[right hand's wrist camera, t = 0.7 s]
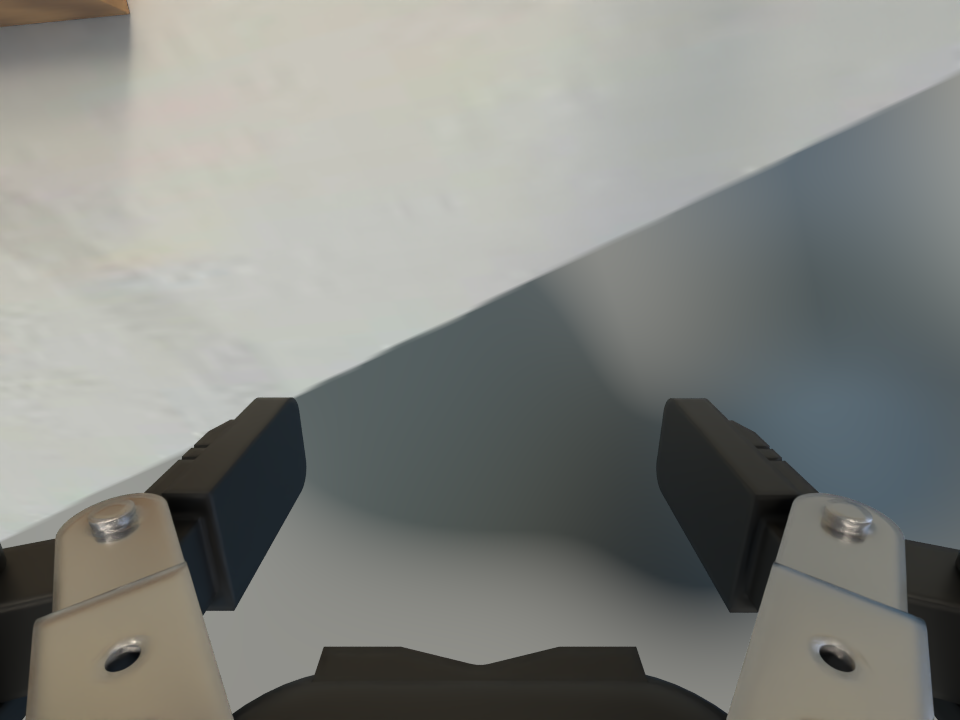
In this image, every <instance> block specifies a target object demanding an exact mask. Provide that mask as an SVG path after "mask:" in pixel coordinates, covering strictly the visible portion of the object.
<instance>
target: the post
mask: <svg viewBox="0 0 960 720" xmlns="http://www.w3.org/2000/svg"><path fill="white" fill-rule="evenodd" d="M124 14H130V12H129V9H128V5H127V1H126V0H0V27H3V26H13V25H23V24H33V23H43V22H53V21H64V20H74V19H84V18H94V17H104V16H114V15H124Z"/></svg>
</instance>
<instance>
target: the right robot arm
mask: <svg viewBox="0 0 960 720" xmlns="http://www.w3.org/2000/svg"><path fill="white" fill-rule="evenodd" d="M656 471H657V480H658V484H659V488H660V490H661V492H662V494H663V496H664V498H665V499H666V501H667V503H668V505H669V506H670V508H671V510H672V512H673V513H674V515H675V517H676V519H677V520H678V522H679V524H680V526H681V527H682V529H683V531H684V533H685V535H686V536H687V538H688V540H689V541H690V543H691V545H692V547H693V549H694V550H695V552H696V554H697V556H698V557H699V559H700V561H701V563H702V564H703V566H704V568H705V570H706V571H707V573H708V575H709V577H710V578H711V580H712V582H713V584H714V585H715V587H716V589H717V591H718V592H719V594H720V596H721V598H722V600H723V601H724V603H725V605H726V606H727V608H728V610H729V612H730V613H758V615H757V619H756V622H755V625H754V629H753V632H752V635H751V639H750V642H749V645H748V649H747V652H746V655H745V659H744V662H743V665H742V669H741V672H740V675H739V679H738V682H737V685H736V689H735V692H734V695H733V699H732V702H731V705H730V709H729V712H728V714H727V713H725V712H724V711H723V710H721V709H720V708H718V707H717V706H715V705H714V704H712V703H710V702H709V701H707V700H705V699H704V698H702V697H700V696H698V695H697V694H695V693H693V692H691V691H688V690H686V689H684V688H682V687H680V686H678V685H675V684H673V683H670V682H667V681H664V680H661V679H659V678H655V677H652V676H648V675H645V672H644V669H643V666H642V663H641V660H640V657H639V654H638V651H637V648H636V647H556V648H552V649H548V650H544V651H540V652H536V653H532V654H528V655H524V656H520V657H516V658H512V659H507V660H503V661H499V662H495V663H491V664H486V665H474V664H469V663H465V662H461V661H457V660H453V659H449V658H444V657H440V656H436V655H432V654H428V653H424V652H420V651H416V650H412V649H408V648H404V647H324V648H323V651H322V654H321V657H320V660H319V663H318V666H317V669H316V672H315V675H312V676H308V677H305V678H301V679H299V680H296V681H293V682H290V683H287V684H285V685H282V686H280V687H278V688H276V689H274V690H272V691H269V692H267V693H265V694H263V695H262V696H260V697H258V698H257V699H255V700H253V701H251V702H250V703H248V704H246V705H245V706H243V707H242V708H240V709H239V710H237V711H236V712H235V713H233V714H232V712H231V709H230V705H229V702H228V699H227V695H226V692H225V689H224V685H223V682H222V679H221V675H220V672H219V669H218V665H217V662H216V659H215V655H214V652H213V649H212V645H211V642H210V639H209V635H208V632H207V629H206V625H205V622H204V619H203V615H204V613H205V611H234V610H235V608H236V607H237V605H238V603H239V601H240V599H241V598H242V596H243V594H244V592H245V591H246V589H247V587H248V585H249V583H250V582H251V580H252V578H253V576H254V575H255V573H256V571H257V569H258V567H259V566H260V564H261V562H262V560H263V559H264V557H265V555H266V553H267V551H268V550H269V548H270V546H271V544H272V542H273V541H274V539H275V537H276V535H277V534H278V532H279V530H280V528H281V526H282V525H283V523H284V521H285V519H286V518H287V516H288V514H289V512H290V510H291V509H292V507H293V505H294V503H295V502H296V500H297V498H298V496H299V494H300V493H301V491H302V489H303V486H304V482H305V477H306V458H305V450H304V443H303V436H302V428H301V421H300V414H299V408H298V404H297V402H296V400H295V399H294V398H256V399H255V400H254V401H253V402H252V403H251V404H250V405H249V406H248V407H247V408H246V409H245V410H244V411H243V412H242V413H241V414H240V415H239V416H238V417H237V418H236V419H235V420H229V421H227V422H225V423H224V424H222V425H220V426H218V427H216V428H214V429H212V430H210V431H209V432H207V433H206V434H205V435H204V436H203V437H202V438H201V439H200V440H199V441H198V442H197V443H196V444H195V445H194V448H191V449H190V450H189V451H187V452H186V453H185V454H184V455H183V456H182V460H178V461H177V462H176V463H175V464H174V465H173V466H172V467H171V468H170V469H169V470H168V471H166V472H165V473H164V474H163V475H162V476H161V477H160V478H159V479H158V480H157V481H156V482H155V483H154V484H153V485H152V486H151V487H150V488H149V489H148V490H147V491H145V492H144V493H135V494H127V495H122V496H118V497H114V498H111V499H108V500H105V501H102V502H100V503H97V504H95V505H92V506H90V507H88V508H86V509H84V510H83V511H81V512H79V513H78V514H76V515H75V516H73V517H72V518H70V519H69V520H68V521H67V522H66V523H65V524H64V525H63V526H62V527H61V528H60V529H59V531H58V533H57V534H56V538H55V539H51V540H46V541H41V542H35V543H30V544H25V545H20V546H15V547H10V548H4V549H2V546H1V544H0V720H22V719H23V718H24V717H25V716H26V720H934V716H935V717H936V718H937V719H938V720H960V550H957V549H952V548H947V547H942V546H936V545H931V544H926V543H921V542H915V541H910V540H906V539H905V538H904V534H903V533H902V531H901V529H900V528H899V527H898V526H897V525H896V524H895V523H894V522H893V521H892V520H891V519H890V518H888V517H887V516H885V515H884V514H883V513H881V512H879V511H877V510H876V509H874V508H872V507H870V506H868V505H865V504H863V503H861V502H858V501H855V500H852V499H849V498H846V497H842V496H838V495H833V494H825V493H819V492H818V491H817V490H816V489H814V488H813V487H812V486H811V485H810V484H809V483H808V482H807V481H806V480H805V479H804V478H803V477H802V476H801V475H800V474H798V473H797V472H796V471H795V470H794V469H793V468H792V467H791V466H790V465H789V464H788V463H787V462H786V461H782V457H780V456H779V455H778V454H777V453H776V452H775V451H774V450H773V449H770V448H769V445H768V444H767V443H766V442H764V440H762V439H761V438H760V437H759V436H758V435H757V434H756V433H755V432H753V431H751V430H750V429H748V428H746V427H744V426H742V425H740V424H738V423H736V422H734V421H732V420H731V421H730V420H728V419H727V418H726V417H725V416H724V415H723V414H722V413H721V412H720V411H719V410H718V409H717V408H716V407H715V406H714V405H713V404H712V403H711V402H710V401H709V400H708V399H705V398H670V399H669V400H668V401H667V402H666V404H665V408H664V413H663V420H662V427H661V435H660V442H659V449H658V456H657V466H656Z"/></svg>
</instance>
